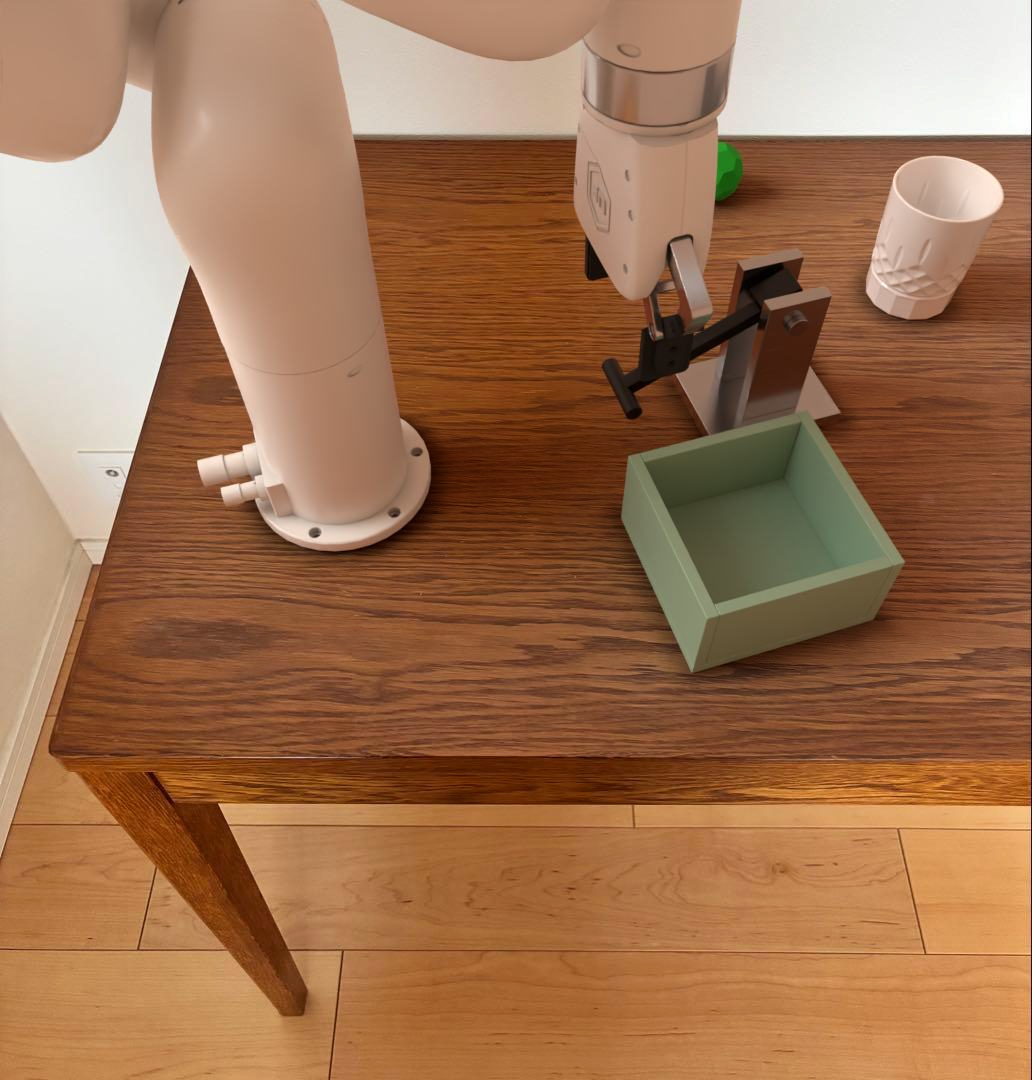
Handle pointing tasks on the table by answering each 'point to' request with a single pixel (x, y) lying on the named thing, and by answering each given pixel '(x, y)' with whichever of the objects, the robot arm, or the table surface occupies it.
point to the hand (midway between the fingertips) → (634, 321)
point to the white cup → (930, 234)
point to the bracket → (762, 357)
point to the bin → (755, 539)
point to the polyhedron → (727, 170)
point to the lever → (703, 338)
